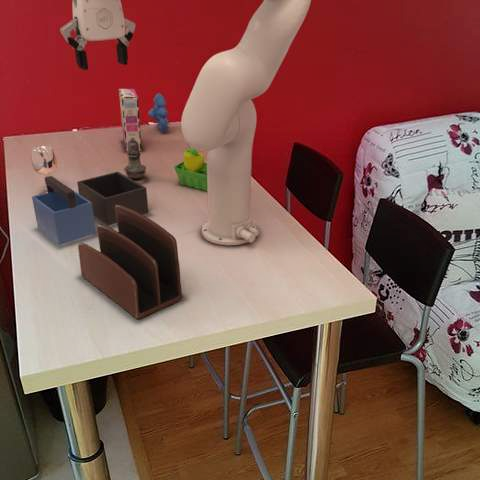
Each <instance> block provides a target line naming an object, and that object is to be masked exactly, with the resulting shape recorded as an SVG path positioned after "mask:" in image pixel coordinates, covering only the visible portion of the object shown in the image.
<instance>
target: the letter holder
mask: <svg viewBox="0 0 480 480" xmlns="http://www.w3.org/2000/svg"><path fill="white" fill-rule="evenodd" d="M115 212H116V219H117V223H116V224H117V230H115V229H114V228H111V227H109V226H108V225H106V224H105V225H104V224H102V223H99V224H98V225H97V226H96V233H97V237H98V243H99V250H98V249H96V248H94V247H92V246H90V245H89V244H87V243H84V242H78V244H77V250H78V257H79V265H80V273H81V276H82V278H83V279H85V280H86V281H87V282H89V283H90V284H91V285H93V286H94V287H95V288H97V290H99V291H101V293H103V294H105V296H107V297H108V298H110V299H111V300H112V301H114V302H115V303H116V304H117V305H118V306H119V307H121V308H122V309H124V310H125V311H126V312H128V313H129V314H130V315H132V317H134V318H135V319H137V320H140V319H143V318H145V317H147V316H149V315H152V314H153V313H156V312H158V311H160V310H162V309H164V308H166V307H169V306H170V305H173V304H175V303H177V302H179V301H181V300H182V299H183V290H182V289H183V288H182V281H181V268H180V260H179V253H178V243H177V242H178V241H177V239H176V237H175V236H174V235H173V234H171V233H170V232H169V231H168V230H166V228H164V227H162V226H161V225H160V224H158V223H157V222H155V221H153V220H152V219H151V218H149V217H147V216H145V215H142V214H140V213H138V212H136V211H134V210H132V209H129V208H127V207H125V206H122V205H116V206H115Z"/></svg>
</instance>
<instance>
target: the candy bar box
mask: <svg viewBox="0 0 480 480" xmlns="http://www.w3.org/2000/svg"><path fill="white" fill-rule="evenodd" d="M118 94H119V106H120V108H119V109H120V119H121V129H122V141H123V144H124V147H125V152H127V153H128V145H127V144H128V142H129V141H131V140H132V137H133V140H134V141H137V142H138V144H139V152H142V150H143V148H142V135H141V134H142V133H141V120H140V119H141V118H140V108H139V107H140V106H139V105H140V104H139V96H138V95H137V92H136V89H135V88H118Z"/></svg>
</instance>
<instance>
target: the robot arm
mask: <svg viewBox="0 0 480 480" xmlns="http://www.w3.org/2000/svg"><path fill="white" fill-rule="evenodd" d="M311 3H312V0H263V1H262V3H261V4H260V5H259V6H258V8H257V10H255V12H254V14H253V15H252V17H251V18H250V20H249V22H248V25H247V27H246V29H245V31H244V33H243V35H242V37H241V38H240V41H239V42H238V44H237V45H236V46H235V47H233V48H231V49H227V50H225V51H224V50H223V51H221V52H218V53H215V54H213V56H210V58H209V59H208V60H207V61H206V62H205V64H204V65H203V66H202V68H201V70H200V71H199V73H198V75H197V78H196V80H195V82H194V85H193V86H192V87H193V88H192V90H191V92H190V94H189V97H188V99H187V101H186V103H185V106H184V109H183V112H182V114H181V120H180V128H181V133H182V136H183V139H184V141H185V142H186V143H187V145H188V146H189V147H190V148H194V149H196V150H197V152H207V156H206V163H207V189H208V191H207V218H208V219H207V221H206V222H205V223H203V225H202V226H201V235H202V237H203V238H204V239H205V240H206V241H208V242H210V243H213V244H216V245H219V246H238V245H244V244H247V243H253V242H254V241H255V240H256V237H257V236H259V235H260V230H259V229H258V227H257V225H256V224H255V223H254V219H253V218H252V217H251V214H252V213H251V212H252V211H251V209H252V166H253V165H252V158H253V155H252V154H253V146H254V138H255V133H256V129H257V118H258V117H257V110H256V107H255V104H254V102H253V100H254V99H256V98H258V97H260V96H261V95H263V94H264V93H266V92H267V90H268V89H269V88H270V86H271V84H272V82H273V80H274V78H275V77H276V74H277V72H278V71H279V68H280V67H281V65H282V63H283V61H284V59H285V57H286V55H287V53H288V51H289V49H290V47H291V45H292V43H293V41H294V39H295V37H296V36H297V34H298V31H299V30H300V28H301V27H302V24H303V23H304V21H305V19H306V17H307V14H308V12H309V9H310V6H311ZM135 29H136V23H135V22H133V21H131V20H129V19H127V18H125V17H124V11H123V6H122V1H121V0H72V19H71V20H70V21H69V22H67V23H66V24H64V25H63V26H61V27H60V28H59V32H60V33H61V35H62V37H63V38H64V40H65V42H66V43H67V44H68V45H69V46H70V47H71V48H72V49H73V50H74V53H75V61H76V65H77V66H78V69H81V70H83V71H87V70H89V63H88V56H87V51H86V50H85V49H84V48H85V47H86V45H87V43H88V41H89V42H98V41H109V40H115V41H116V42H117V44H116V47H115V48H116V56H117V57H116V58H117V63H119V64H121V65H123V66H128V59H129V54H128V53H129V52H128V46H129V45H130V42H131V40H132V39H133V37H134V33H135ZM73 30H74V34H75V38H74V37H73V36H72V34H71V32H72V31H73Z"/></svg>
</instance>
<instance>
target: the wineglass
mask: <svg viewBox="0 0 480 480" xmlns="http://www.w3.org/2000/svg"><path fill="white" fill-rule="evenodd" d="M30 155H31V158H30V159H31V165H32V169H33V170H34V171H35V172H36V173H37V174H40V175H44V178H45V177H49V175H50V174H51V175H52V174H53V173H54V172H55V171H56V170H57V167H58V160H57V156H56V154H55V151H54V149H53V147H52V146H48V145H39V146H34V147H33V148H32V149H31V154H30ZM45 193H48V192H47V191H46V192H45Z"/></svg>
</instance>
